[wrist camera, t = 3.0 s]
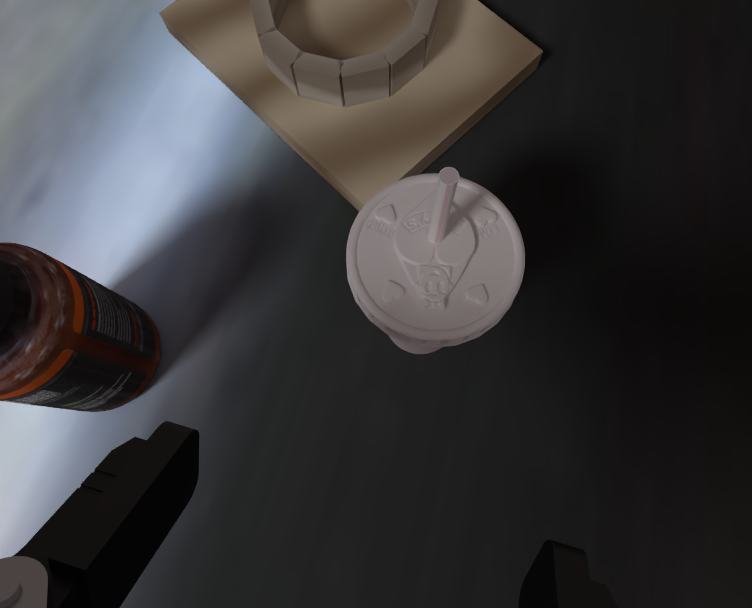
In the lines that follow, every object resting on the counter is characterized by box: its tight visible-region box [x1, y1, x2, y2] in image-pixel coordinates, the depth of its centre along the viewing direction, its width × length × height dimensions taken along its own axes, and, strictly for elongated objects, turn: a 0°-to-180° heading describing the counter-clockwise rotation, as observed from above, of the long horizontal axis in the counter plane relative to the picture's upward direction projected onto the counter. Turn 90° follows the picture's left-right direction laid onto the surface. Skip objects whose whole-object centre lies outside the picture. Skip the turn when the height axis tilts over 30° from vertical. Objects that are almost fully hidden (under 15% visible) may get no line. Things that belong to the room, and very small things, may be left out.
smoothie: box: [346, 167, 525, 354], centre depth 21 cm, size 6×6×14 cm
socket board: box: [160, 0, 543, 212], centre depth 31 cm, size 18×14×4 cm
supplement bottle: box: [0, 243, 161, 412], centre depth 22 cm, size 6×6×11 cm
